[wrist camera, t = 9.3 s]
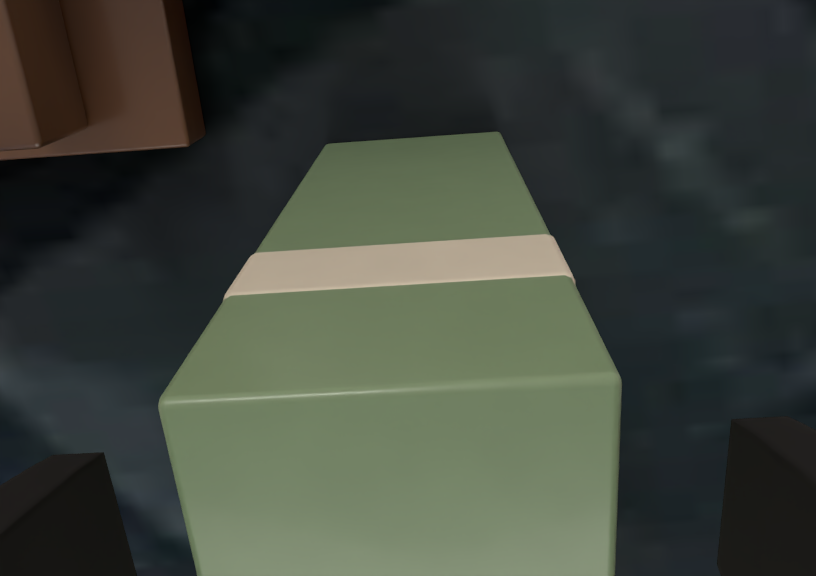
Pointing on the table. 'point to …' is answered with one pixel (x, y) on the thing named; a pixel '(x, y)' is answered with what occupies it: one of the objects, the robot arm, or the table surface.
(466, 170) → the green book
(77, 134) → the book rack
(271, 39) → the table surface
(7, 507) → the robot arm
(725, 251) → the table surface
